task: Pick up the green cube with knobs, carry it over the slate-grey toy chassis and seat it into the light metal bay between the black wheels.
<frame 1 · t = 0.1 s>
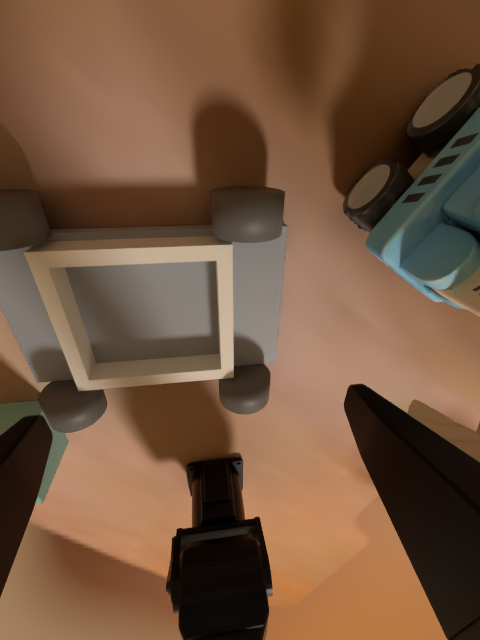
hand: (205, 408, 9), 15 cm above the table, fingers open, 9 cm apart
toy excavator: (386, 218, 22), on the table
chassis: (152, 305, 23), on the table
green cube with knobs: (31, 423, 28), on the table
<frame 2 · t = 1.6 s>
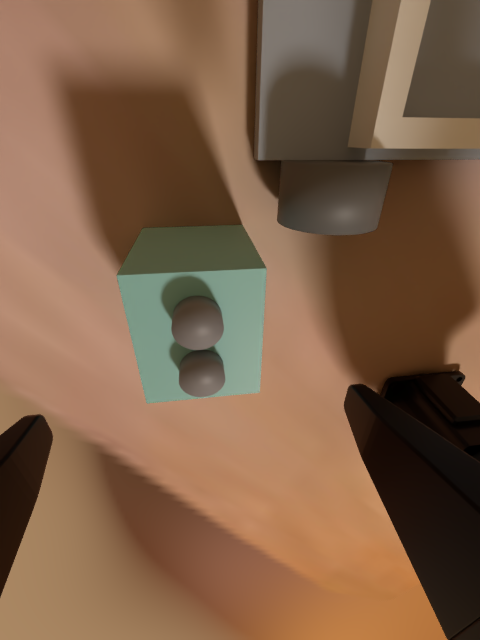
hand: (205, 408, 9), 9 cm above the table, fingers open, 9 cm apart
green cube with knobs: (197, 280, 17), on the table
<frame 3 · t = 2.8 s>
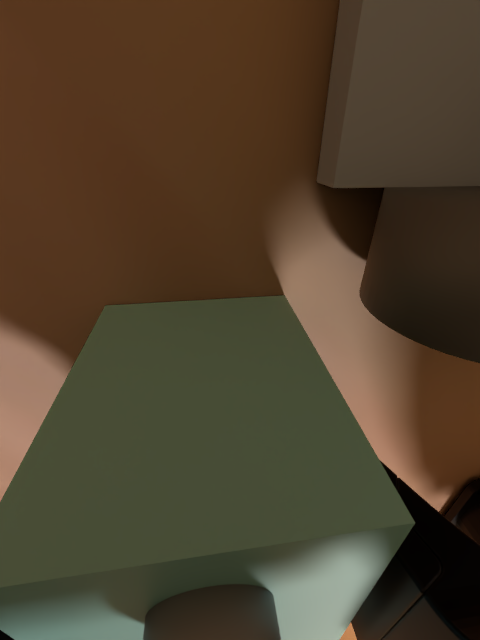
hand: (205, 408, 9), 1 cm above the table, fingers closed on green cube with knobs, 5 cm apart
green cube with knobs: (204, 379, 10), on the table, touching gripper
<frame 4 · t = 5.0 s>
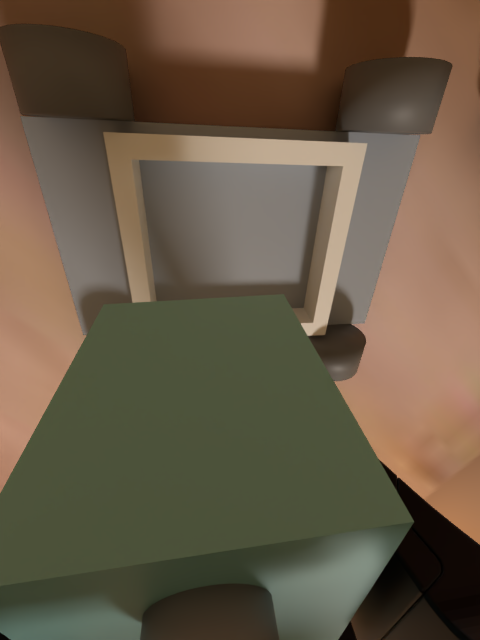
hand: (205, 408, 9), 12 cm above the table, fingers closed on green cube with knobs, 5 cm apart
chassis: (233, 240, 19), on the table
green cube with knobs: (203, 378, 10), point 11 cm above the table, touching gripper
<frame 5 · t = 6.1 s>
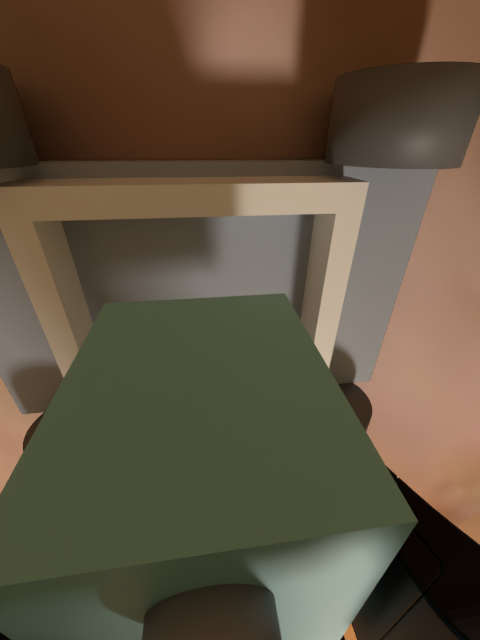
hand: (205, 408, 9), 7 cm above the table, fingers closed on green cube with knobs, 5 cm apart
chassis: (200, 296, 15), on the table
green cube with knobs: (204, 378, 10), point 6 cm above the table, touching gripper
when the fingers open (4 cm above the table, at t = 7.0 s): green cube with knobs drops 2 cm, resting on chassis.
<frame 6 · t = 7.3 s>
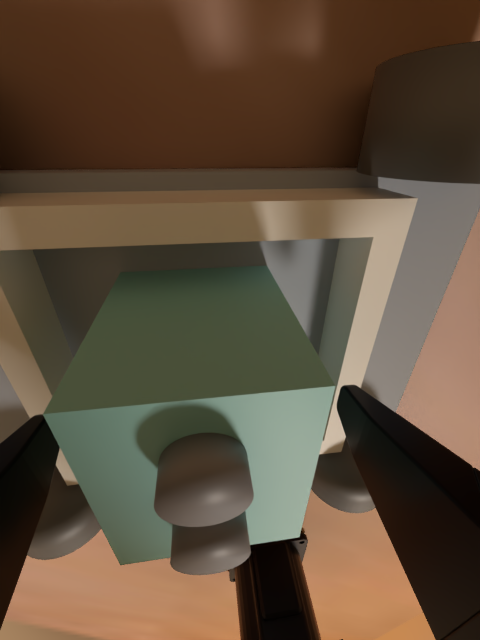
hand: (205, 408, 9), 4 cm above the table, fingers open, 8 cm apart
chassis: (201, 326, 13), on the table
green cube with knobs: (201, 339, 12), point 1 cm above the table, touching chassis
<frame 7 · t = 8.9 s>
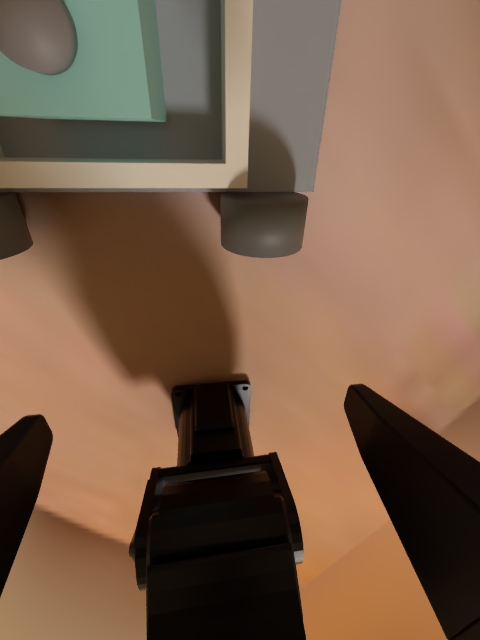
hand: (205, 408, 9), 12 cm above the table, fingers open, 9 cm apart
chassis: (101, 36, 12), on the table
green cube with knobs: (93, 29, 12), point 1 cm above the table, touching chassis
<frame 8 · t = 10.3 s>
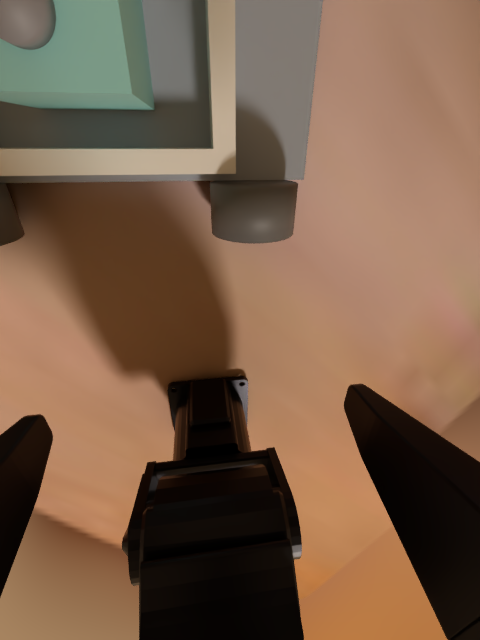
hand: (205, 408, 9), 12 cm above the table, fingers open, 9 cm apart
chassis: (89, 26, 13), on the table
green cube with knobs: (80, 18, 12), point 1 cm above the table, touching chassis
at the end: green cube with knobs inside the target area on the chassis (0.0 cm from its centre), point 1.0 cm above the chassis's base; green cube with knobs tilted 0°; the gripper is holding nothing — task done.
